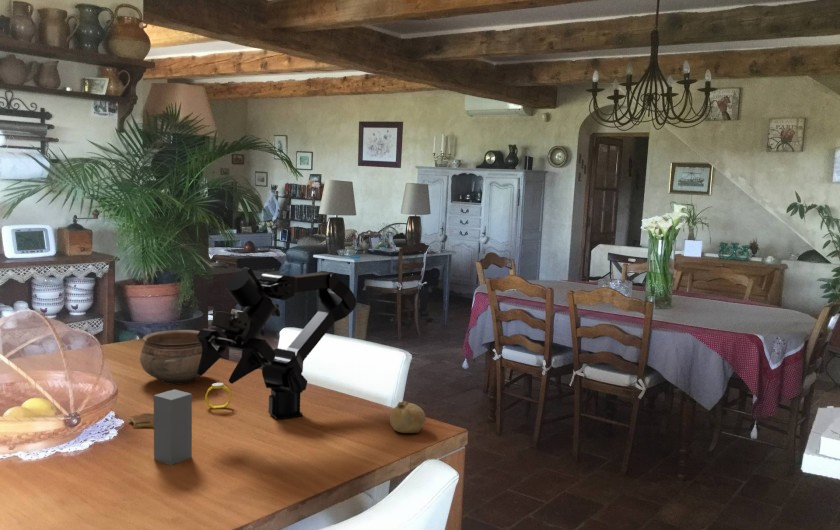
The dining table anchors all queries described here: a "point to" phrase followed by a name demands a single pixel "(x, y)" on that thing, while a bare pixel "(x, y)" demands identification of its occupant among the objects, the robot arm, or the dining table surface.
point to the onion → (407, 418)
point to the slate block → (172, 426)
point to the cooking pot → (172, 355)
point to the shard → (142, 420)
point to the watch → (216, 386)
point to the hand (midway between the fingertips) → (214, 378)
